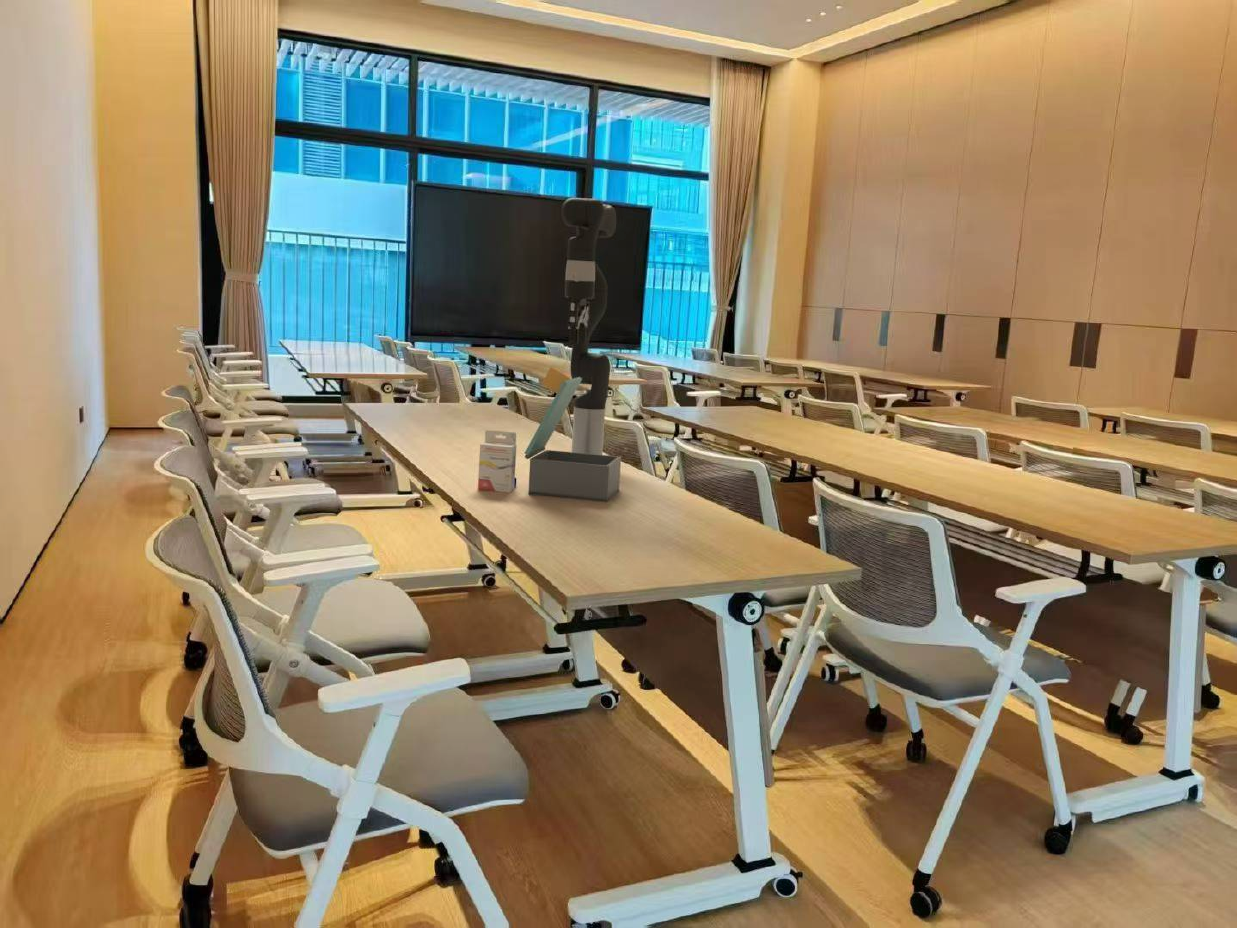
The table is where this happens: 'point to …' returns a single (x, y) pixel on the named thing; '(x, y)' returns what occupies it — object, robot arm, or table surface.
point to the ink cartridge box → (497, 462)
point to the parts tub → (574, 475)
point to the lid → (553, 408)
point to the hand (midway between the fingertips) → (577, 343)
